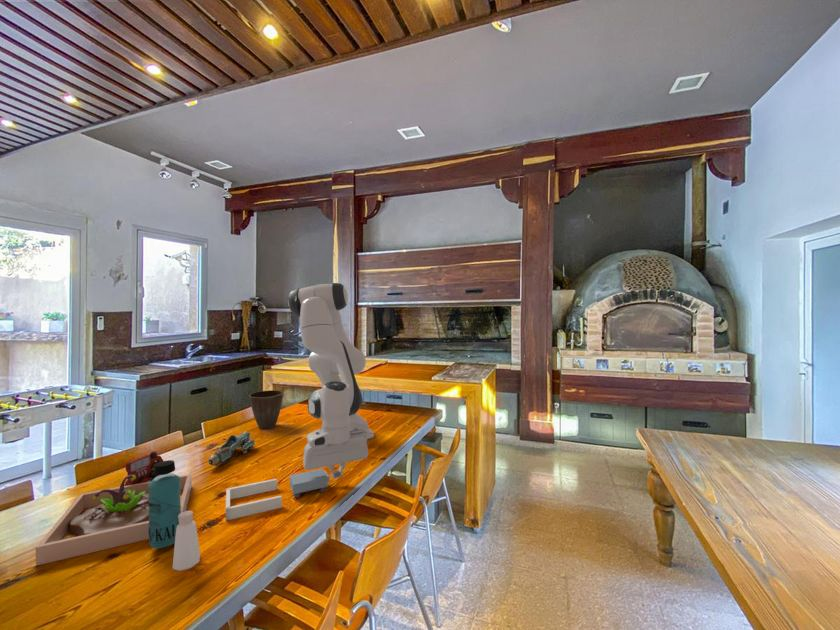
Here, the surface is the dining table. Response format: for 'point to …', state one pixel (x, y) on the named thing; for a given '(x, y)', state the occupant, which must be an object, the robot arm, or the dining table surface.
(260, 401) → the plant pot
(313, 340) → the robot arm
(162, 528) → the beverage bottle
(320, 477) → the short grey brick
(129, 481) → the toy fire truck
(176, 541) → the pepper shaker
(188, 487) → the planter tray
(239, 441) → the hoverbike
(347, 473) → the dining table surface
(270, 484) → the bay
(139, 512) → the plant
